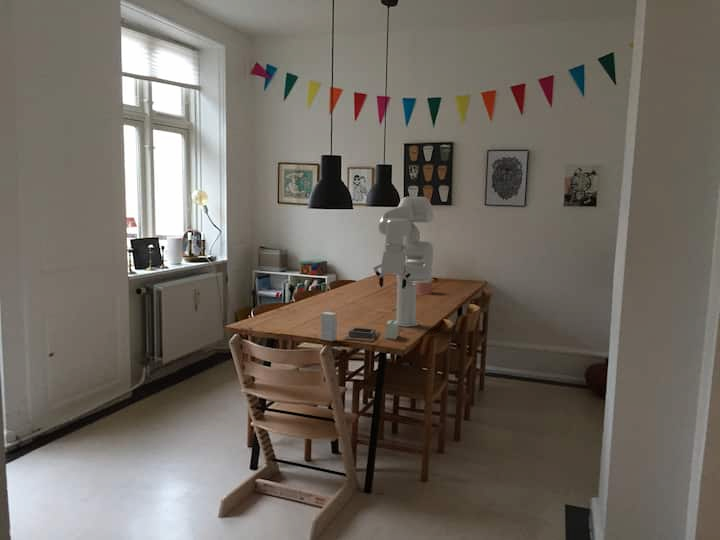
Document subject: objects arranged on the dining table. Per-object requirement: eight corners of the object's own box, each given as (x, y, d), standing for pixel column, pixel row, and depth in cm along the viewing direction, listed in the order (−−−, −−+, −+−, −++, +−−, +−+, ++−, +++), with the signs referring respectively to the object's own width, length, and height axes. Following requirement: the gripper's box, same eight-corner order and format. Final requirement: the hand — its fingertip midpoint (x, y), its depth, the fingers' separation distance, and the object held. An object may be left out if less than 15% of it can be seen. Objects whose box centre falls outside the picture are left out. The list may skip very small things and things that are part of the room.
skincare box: (337, 339, 254) (337, 313, 253) (331, 341, 251) (331, 314, 249) (326, 337, 258) (326, 311, 256) (320, 339, 254) (320, 312, 252)
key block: (388, 335, 266) (388, 319, 265) (398, 335, 265) (398, 320, 264) (385, 338, 259) (386, 323, 258) (395, 339, 258) (396, 323, 257)
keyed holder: (352, 331, 270) (352, 325, 270) (379, 333, 267) (379, 327, 267) (343, 339, 255) (344, 333, 254) (372, 342, 252) (372, 335, 251)
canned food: (434, 293, 382) (435, 275, 380) (423, 295, 374) (424, 276, 372) (422, 291, 390) (422, 273, 388) (410, 292, 382) (411, 274, 380)
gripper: (415, 248, 249) (413, 287, 251) (376, 246, 253) (374, 284, 255) (412, 250, 242) (411, 290, 244) (372, 248, 245) (371, 287, 248)
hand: (392, 287), depth 249 cm, fingers open, 9 cm apart
